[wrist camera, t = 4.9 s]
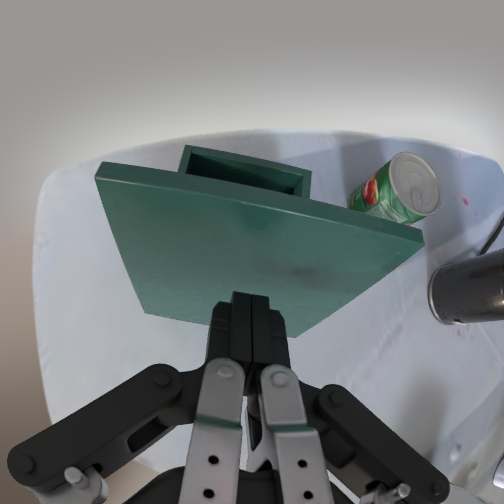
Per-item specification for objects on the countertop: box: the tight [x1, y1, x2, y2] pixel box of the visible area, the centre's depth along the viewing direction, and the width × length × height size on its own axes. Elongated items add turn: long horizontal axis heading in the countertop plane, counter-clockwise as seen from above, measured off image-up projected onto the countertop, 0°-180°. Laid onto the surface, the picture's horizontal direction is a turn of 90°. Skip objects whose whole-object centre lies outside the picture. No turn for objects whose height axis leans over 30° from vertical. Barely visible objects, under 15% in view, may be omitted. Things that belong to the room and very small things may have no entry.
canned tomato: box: [348, 152, 441, 226], centre depth 36 cm, size 8×8×11 cm
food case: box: [178, 145, 312, 199], centre depth 31 cm, size 16×13×10 cm
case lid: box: [95, 162, 424, 338], centre depth 17 cm, size 16×13×1 cm
